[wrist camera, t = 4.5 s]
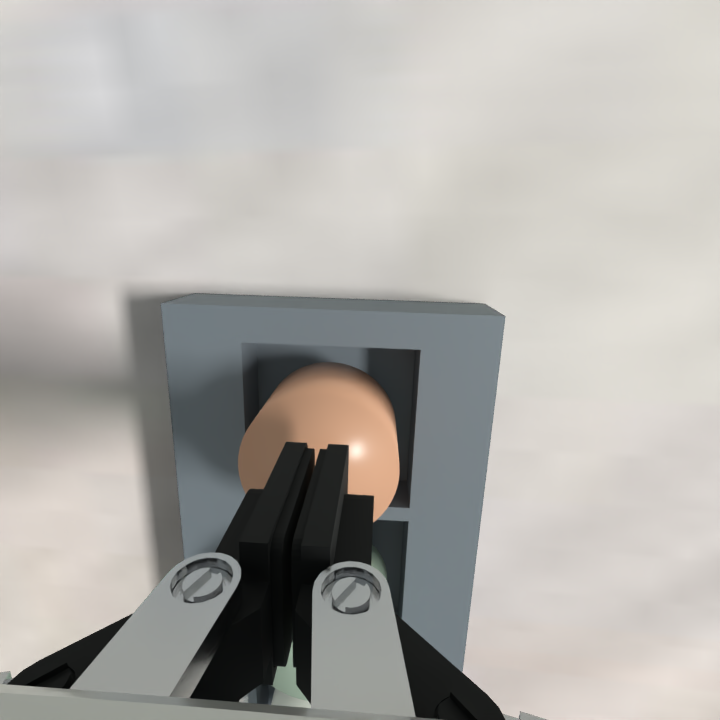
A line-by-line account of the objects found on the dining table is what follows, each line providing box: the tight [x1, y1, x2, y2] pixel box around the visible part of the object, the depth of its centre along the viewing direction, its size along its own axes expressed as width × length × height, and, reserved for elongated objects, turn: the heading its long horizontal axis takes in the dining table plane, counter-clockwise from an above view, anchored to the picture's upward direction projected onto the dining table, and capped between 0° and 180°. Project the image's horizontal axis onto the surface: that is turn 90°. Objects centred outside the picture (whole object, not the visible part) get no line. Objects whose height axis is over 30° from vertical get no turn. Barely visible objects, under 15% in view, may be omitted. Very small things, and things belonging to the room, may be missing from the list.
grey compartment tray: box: [161, 293, 505, 705], centre depth 20 cm, size 23×12×3 cm, turn 178°
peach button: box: [238, 362, 399, 523], centre depth 15 cm, size 5×5×3 cm
